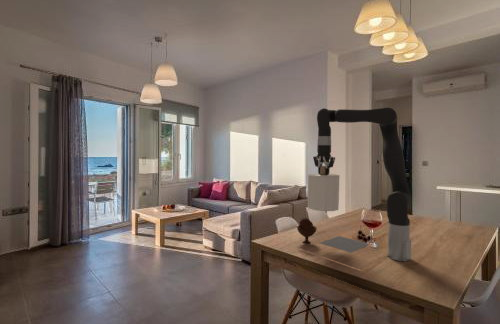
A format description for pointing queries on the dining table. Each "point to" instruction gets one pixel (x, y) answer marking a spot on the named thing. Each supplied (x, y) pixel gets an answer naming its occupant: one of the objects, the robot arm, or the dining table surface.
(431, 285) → the dining table surface
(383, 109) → the robot arm
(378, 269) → the dining table surface
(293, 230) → the dining table surface
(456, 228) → the dining table surface
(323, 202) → the white cylindrical cover
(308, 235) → the ice cream bowl
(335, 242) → the mat
